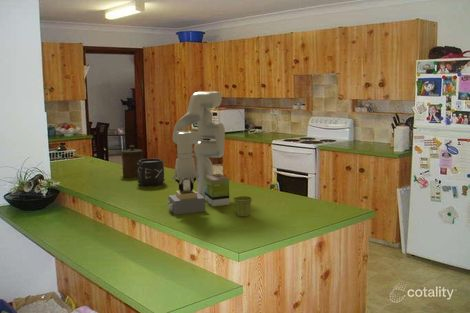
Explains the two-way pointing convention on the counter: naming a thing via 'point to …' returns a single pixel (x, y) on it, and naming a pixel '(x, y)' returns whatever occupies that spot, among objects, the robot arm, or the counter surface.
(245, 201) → the plant pot
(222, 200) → the tea box
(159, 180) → the black lettered box
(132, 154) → the wooden container
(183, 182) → the spout can
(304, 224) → the counter surface
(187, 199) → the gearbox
